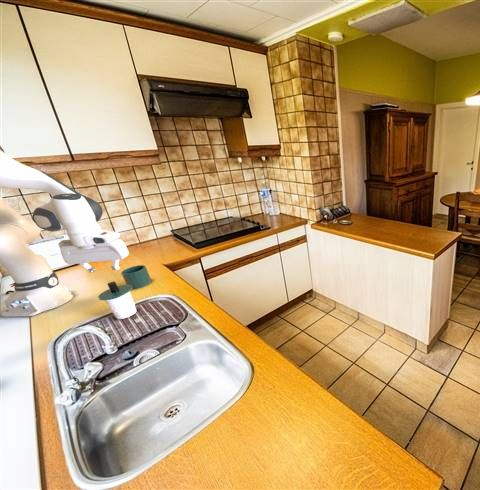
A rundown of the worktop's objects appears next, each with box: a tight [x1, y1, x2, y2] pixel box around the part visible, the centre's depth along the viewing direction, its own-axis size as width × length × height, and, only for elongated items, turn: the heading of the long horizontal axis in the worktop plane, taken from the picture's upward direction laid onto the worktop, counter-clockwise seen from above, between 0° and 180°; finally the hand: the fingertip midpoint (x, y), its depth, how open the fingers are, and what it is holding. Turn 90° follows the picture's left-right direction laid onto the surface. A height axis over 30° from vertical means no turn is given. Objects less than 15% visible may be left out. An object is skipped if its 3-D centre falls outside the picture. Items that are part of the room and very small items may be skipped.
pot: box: [120, 264, 152, 290], centre depth 133 cm, size 9×9×8 cm
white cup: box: [104, 291, 137, 320], centre depth 109 cm, size 8×8×10 cm
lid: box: [97, 281, 133, 301], centre depth 107 cm, size 10×10×5 cm
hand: (104, 270), depth 103 cm, fingers open, 7 cm apart
